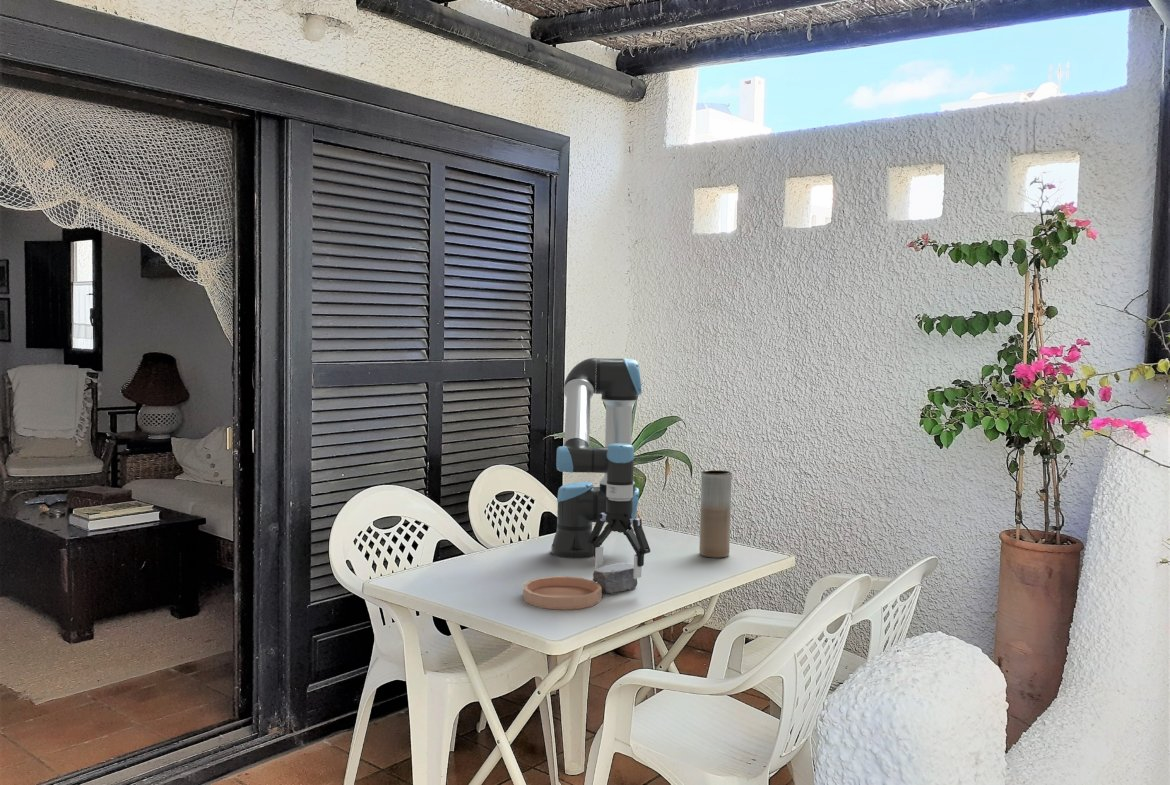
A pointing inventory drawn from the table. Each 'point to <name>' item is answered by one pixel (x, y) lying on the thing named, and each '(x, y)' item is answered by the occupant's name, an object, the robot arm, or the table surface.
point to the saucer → (562, 593)
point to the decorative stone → (615, 578)
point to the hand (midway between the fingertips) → (617, 573)
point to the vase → (715, 513)
